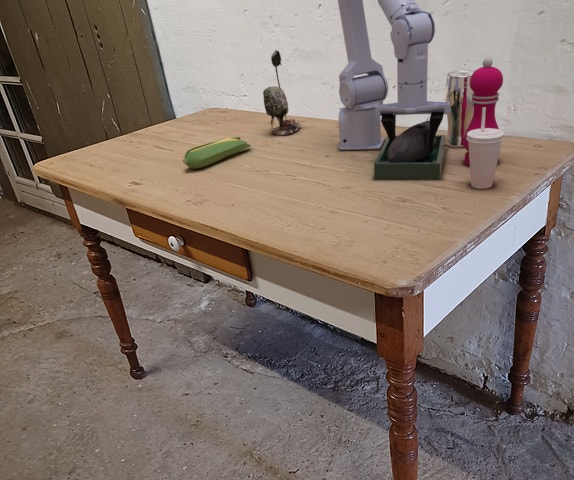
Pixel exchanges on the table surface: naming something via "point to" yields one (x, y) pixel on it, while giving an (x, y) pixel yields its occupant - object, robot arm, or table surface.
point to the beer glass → (458, 106)
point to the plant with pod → (278, 104)
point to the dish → (411, 164)
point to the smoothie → (483, 154)
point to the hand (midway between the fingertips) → (411, 149)
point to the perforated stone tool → (411, 144)
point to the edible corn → (213, 152)
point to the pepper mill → (483, 98)
